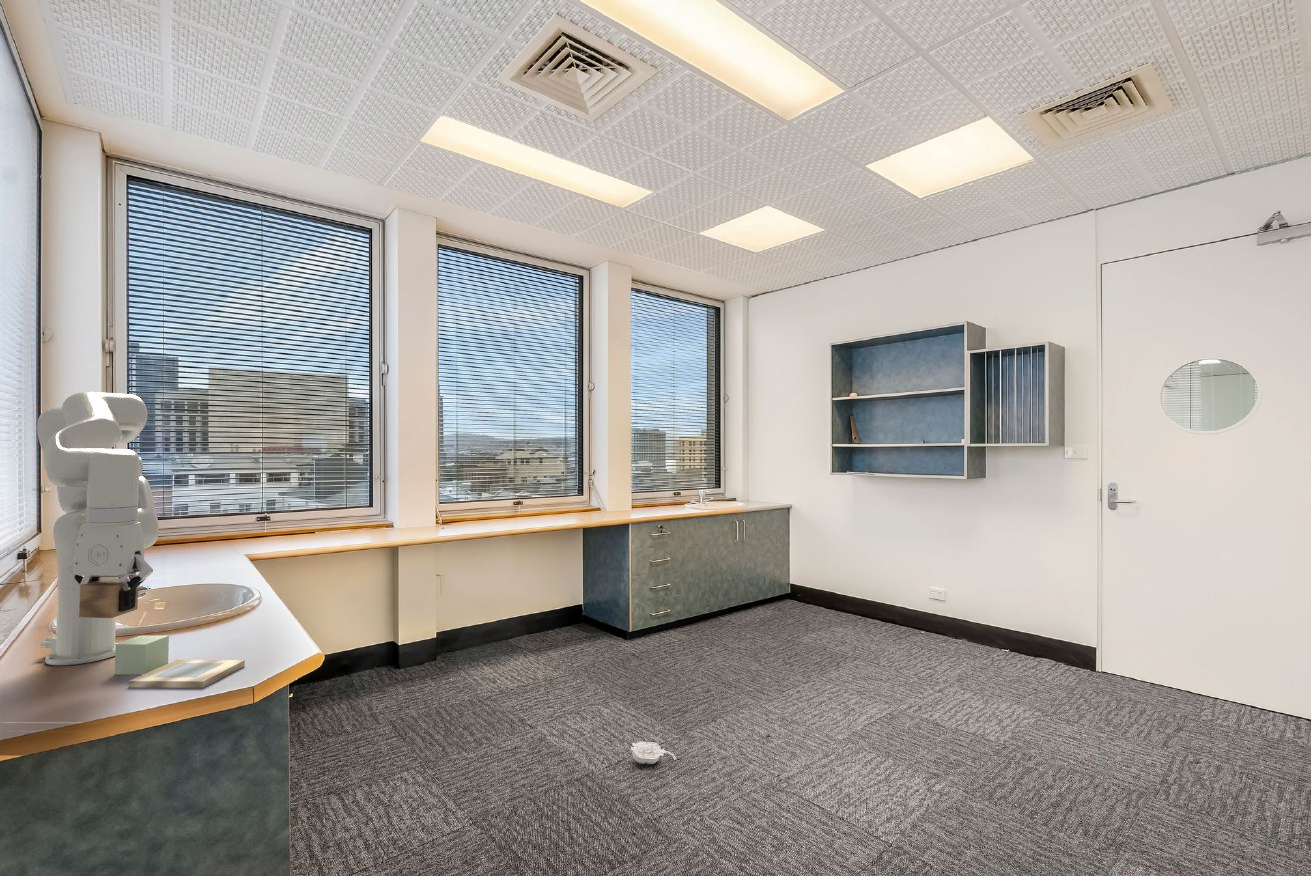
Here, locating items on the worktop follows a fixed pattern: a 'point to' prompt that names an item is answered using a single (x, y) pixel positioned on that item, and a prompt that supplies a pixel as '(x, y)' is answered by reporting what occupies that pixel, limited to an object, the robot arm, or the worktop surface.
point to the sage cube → (141, 654)
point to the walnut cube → (102, 599)
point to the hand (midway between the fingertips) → (109, 608)
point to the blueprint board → (187, 674)
